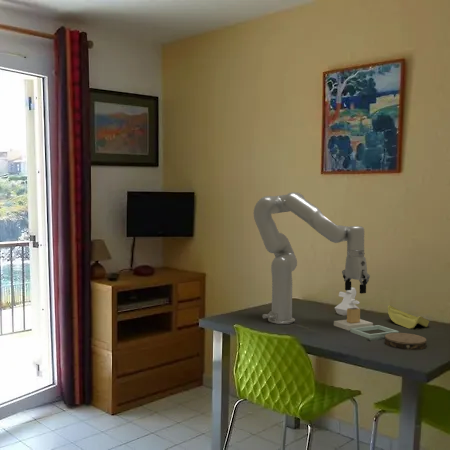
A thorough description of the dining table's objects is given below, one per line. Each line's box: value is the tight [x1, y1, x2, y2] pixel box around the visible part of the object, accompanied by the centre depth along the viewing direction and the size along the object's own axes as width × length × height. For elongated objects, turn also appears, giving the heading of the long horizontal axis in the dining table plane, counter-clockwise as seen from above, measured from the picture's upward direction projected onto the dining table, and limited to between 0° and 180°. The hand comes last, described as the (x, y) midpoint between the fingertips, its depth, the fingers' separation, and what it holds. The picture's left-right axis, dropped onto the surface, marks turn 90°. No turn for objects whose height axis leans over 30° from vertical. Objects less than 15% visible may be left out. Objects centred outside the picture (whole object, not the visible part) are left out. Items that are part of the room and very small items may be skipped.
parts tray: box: [349, 324, 400, 342], centre depth 227 cm, size 16×12×2 cm
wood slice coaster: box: [384, 332, 427, 351], centre depth 214 cm, size 16×16×3 cm
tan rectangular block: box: [346, 307, 361, 323], centre depth 238 cm, size 5×3×8 cm, turn 117°
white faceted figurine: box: [334, 286, 361, 316], centre depth 267 cm, size 8×14×14 cm, turn 36°
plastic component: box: [387, 304, 430, 330], centre depth 250 cm, size 20×7×10 cm
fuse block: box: [333, 318, 374, 331], centre depth 239 cm, size 14×10×3 cm
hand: (355, 291), depth 238 cm, fingers open, 9 cm apart
